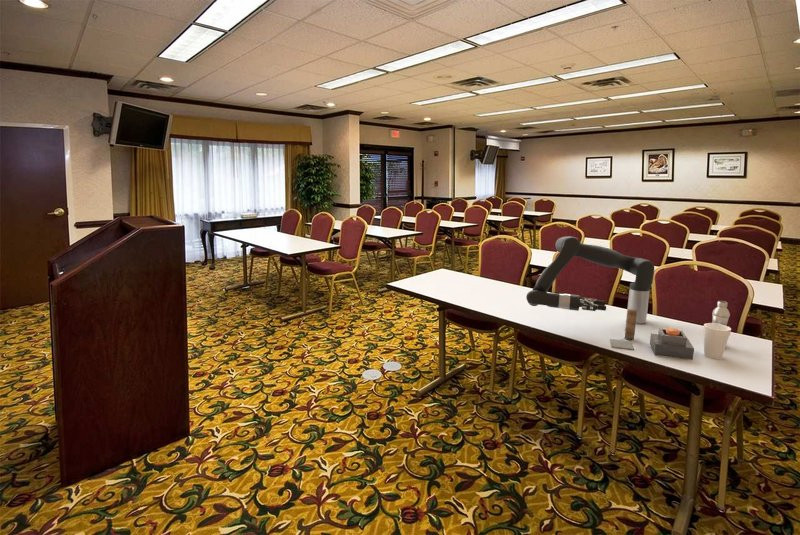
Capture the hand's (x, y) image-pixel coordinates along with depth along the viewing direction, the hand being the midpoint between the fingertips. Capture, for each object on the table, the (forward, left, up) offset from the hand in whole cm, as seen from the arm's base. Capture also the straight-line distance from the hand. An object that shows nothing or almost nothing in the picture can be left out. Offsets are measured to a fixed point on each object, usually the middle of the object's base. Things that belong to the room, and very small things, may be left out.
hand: (605, 305), depth 210 cm
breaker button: (+11, +26, -8) cm, 30 cm away
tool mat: (+10, +7, -15) cm, 19 cm away
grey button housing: (+11, +26, -15) cm, 32 cm away
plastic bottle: (-6, +47, -15) cm, 50 cm away
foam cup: (+10, +42, -15) cm, 46 cm away
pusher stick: (0, +11, -15) cm, 19 cm away
